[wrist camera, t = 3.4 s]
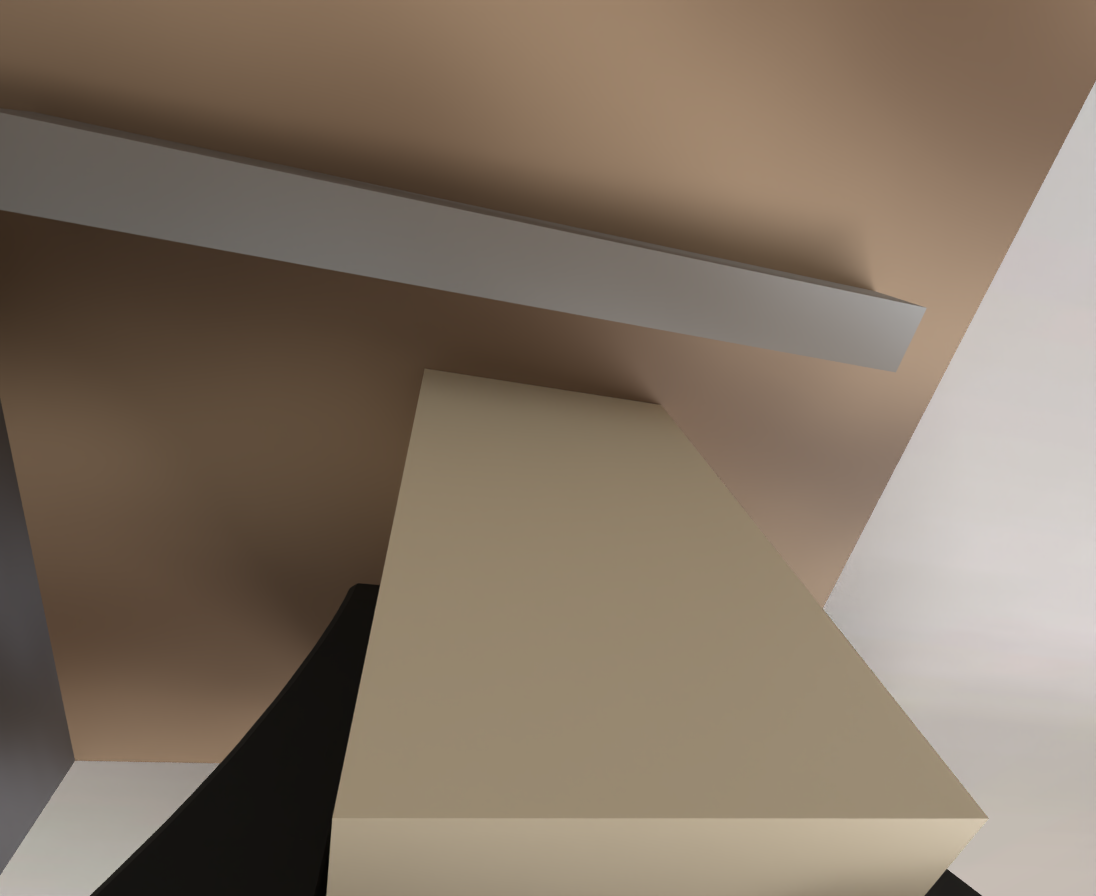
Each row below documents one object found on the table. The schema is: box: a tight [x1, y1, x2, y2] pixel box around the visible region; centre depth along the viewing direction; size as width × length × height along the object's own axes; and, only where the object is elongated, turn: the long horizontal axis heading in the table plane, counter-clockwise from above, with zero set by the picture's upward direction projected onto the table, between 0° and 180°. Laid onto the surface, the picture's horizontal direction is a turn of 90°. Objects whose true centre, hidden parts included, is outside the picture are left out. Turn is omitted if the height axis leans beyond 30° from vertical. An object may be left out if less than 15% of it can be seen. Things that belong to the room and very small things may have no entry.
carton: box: [326, 369, 989, 896], centre depth 8 cm, size 8×4×7 cm, turn 168°
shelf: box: [0, 0, 1096, 875], centre depth 8 cm, size 20×16×4 cm
